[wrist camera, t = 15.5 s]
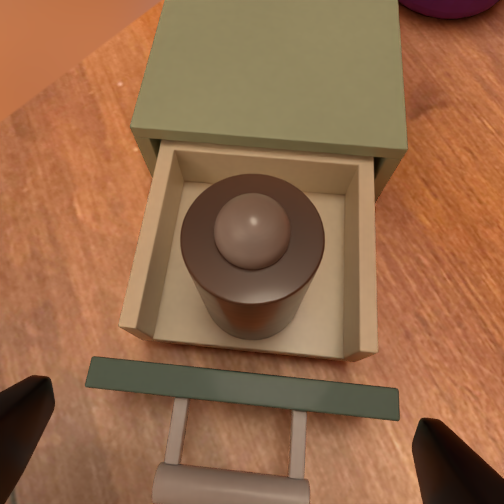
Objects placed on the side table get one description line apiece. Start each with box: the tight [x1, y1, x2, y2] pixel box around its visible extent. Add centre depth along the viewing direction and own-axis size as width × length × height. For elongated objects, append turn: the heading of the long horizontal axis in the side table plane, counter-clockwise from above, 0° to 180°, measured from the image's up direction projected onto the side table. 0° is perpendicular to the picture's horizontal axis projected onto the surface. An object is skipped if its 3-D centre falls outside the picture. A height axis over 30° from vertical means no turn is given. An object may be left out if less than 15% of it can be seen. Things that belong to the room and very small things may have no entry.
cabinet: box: [130, 0, 408, 202], centre depth 24 cm, size 14×14×6 cm
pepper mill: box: [180, 174, 325, 340], centre depth 15 cm, size 5×5×9 cm
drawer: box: [85, 139, 400, 504], centre depth 18 cm, size 16×12×4 cm
